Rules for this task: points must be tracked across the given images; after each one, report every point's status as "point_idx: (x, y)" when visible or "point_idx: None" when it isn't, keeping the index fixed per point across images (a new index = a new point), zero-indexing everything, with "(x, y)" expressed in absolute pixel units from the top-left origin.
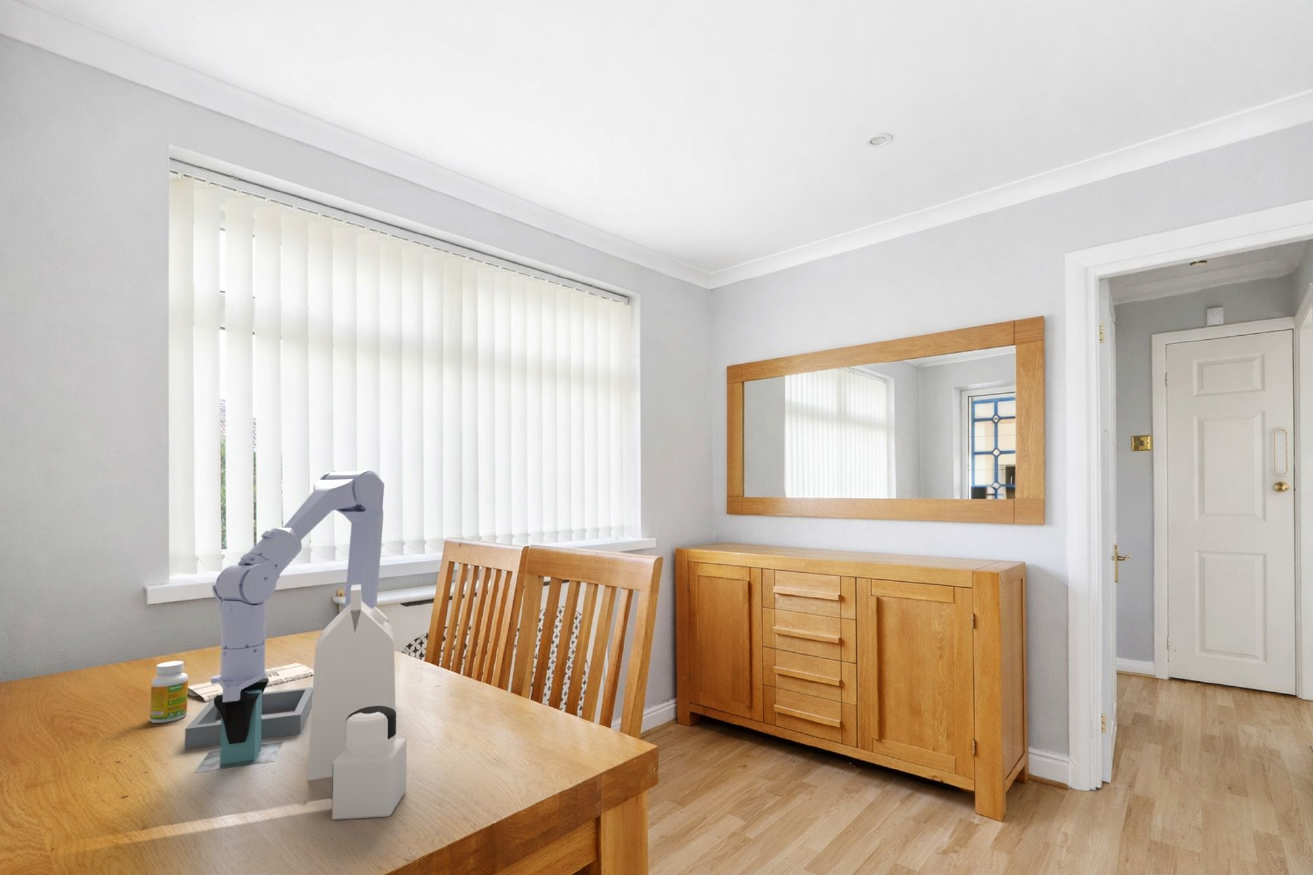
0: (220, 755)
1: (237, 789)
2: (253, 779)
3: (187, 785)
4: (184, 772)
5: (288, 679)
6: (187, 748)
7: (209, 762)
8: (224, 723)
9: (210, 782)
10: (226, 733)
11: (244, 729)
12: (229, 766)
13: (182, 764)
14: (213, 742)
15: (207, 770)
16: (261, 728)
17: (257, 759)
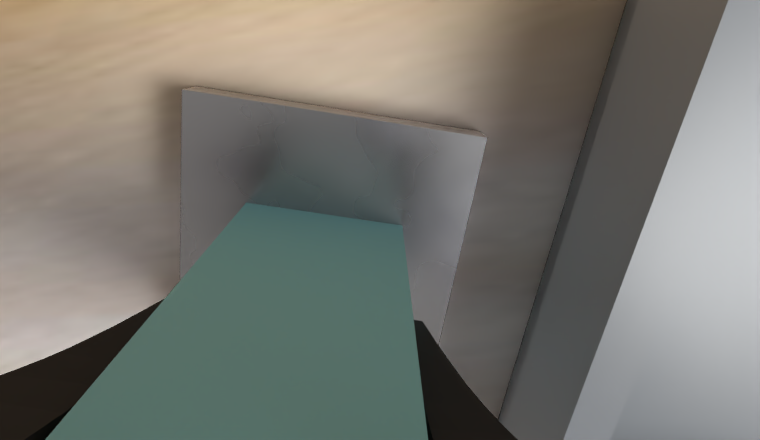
0: (233, 218)
1: (6, 268)
2: (97, 318)
3: (136, 64)
4: (335, 28)
5: None
6: (644, 8)
7: (305, 151)
8: (64, 351)
9: (132, 162)
10: (142, 312)
11: None
12: (193, 243)
13: (473, 2)
14: (605, 150)
15: (184, 152)
16: (551, 386)
17: None
